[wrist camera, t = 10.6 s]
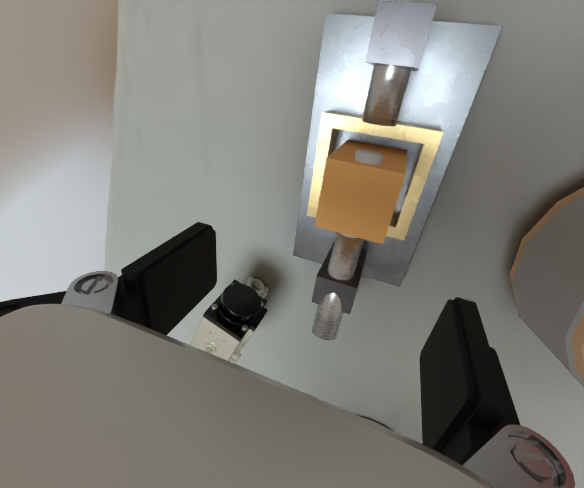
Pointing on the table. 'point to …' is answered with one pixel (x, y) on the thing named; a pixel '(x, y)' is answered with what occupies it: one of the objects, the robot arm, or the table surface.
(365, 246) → the shaft stand
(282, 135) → the table surface
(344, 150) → the block
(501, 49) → the table surface
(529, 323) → the desk lamp
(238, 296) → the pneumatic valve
